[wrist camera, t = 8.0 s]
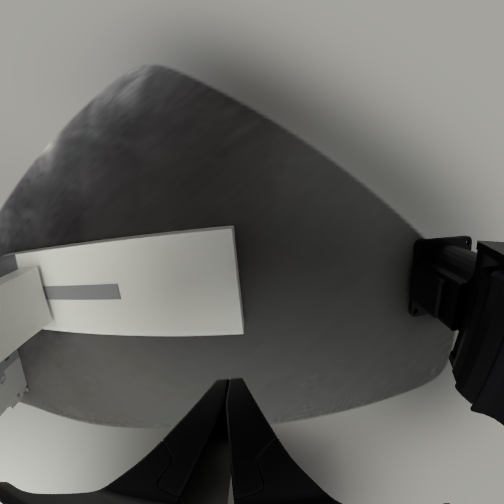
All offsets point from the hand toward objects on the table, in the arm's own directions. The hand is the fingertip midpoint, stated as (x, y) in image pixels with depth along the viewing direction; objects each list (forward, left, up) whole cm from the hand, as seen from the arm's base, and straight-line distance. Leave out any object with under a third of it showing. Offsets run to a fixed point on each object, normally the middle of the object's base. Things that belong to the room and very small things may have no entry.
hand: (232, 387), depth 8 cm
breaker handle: (+19, 0, -10) cm, 22 cm away
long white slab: (+13, 0, -12) cm, 17 cm away
